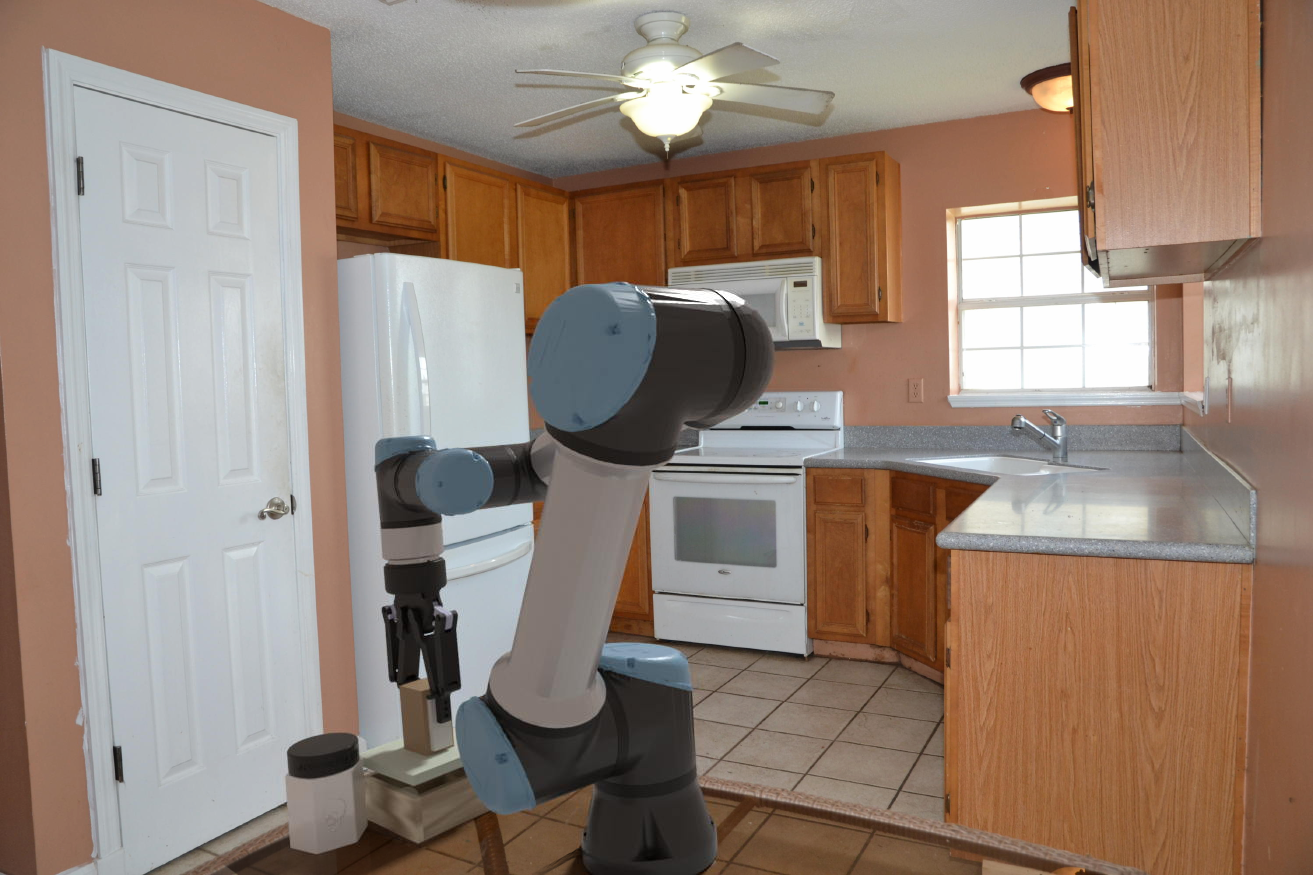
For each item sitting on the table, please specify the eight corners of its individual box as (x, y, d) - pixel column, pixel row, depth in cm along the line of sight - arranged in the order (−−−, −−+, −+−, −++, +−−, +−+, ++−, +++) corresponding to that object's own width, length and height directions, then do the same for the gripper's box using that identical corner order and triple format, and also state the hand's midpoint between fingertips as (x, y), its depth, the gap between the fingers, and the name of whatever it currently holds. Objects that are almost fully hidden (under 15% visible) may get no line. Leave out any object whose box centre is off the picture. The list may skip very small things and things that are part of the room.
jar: (297, 867, 102) (289, 763, 101) (284, 841, 109) (277, 744, 108) (377, 843, 107) (369, 743, 106) (359, 819, 113) (352, 726, 113)
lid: (503, 749, 112) (497, 677, 112) (413, 785, 103) (407, 706, 103) (443, 732, 121) (438, 664, 121) (355, 763, 112) (349, 690, 111)
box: (500, 811, 113) (497, 764, 113) (418, 849, 104) (414, 799, 104) (445, 789, 121) (442, 746, 121) (364, 823, 112) (361, 776, 112)
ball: (425, 810, 113) (423, 785, 113) (403, 820, 110) (401, 794, 110) (411, 804, 115) (409, 780, 115) (389, 814, 113) (387, 789, 112)
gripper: (482, 557, 108) (497, 746, 109) (401, 551, 121) (414, 722, 121) (429, 567, 103) (445, 767, 103) (349, 560, 115) (364, 739, 115)
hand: (428, 742), depth 112 cm, fingers closed on lid, 5 cm apart
